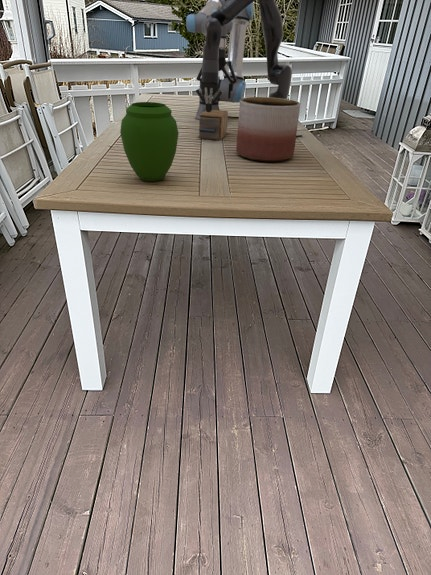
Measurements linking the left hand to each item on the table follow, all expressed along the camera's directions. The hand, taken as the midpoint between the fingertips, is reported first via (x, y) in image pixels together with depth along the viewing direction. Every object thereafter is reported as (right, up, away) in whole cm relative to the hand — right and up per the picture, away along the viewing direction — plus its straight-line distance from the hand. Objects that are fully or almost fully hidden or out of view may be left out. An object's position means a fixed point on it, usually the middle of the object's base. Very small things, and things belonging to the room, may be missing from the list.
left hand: (216, 97), depth 206 cm
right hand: (-3, -13, -13) cm, 19 cm away
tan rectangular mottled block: (-1, -18, +5) cm, 18 cm away
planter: (+21, -38, -25) cm, 50 cm away
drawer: (-2, -20, 0) cm, 20 cm away
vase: (-23, -57, -60) cm, 86 cm away
